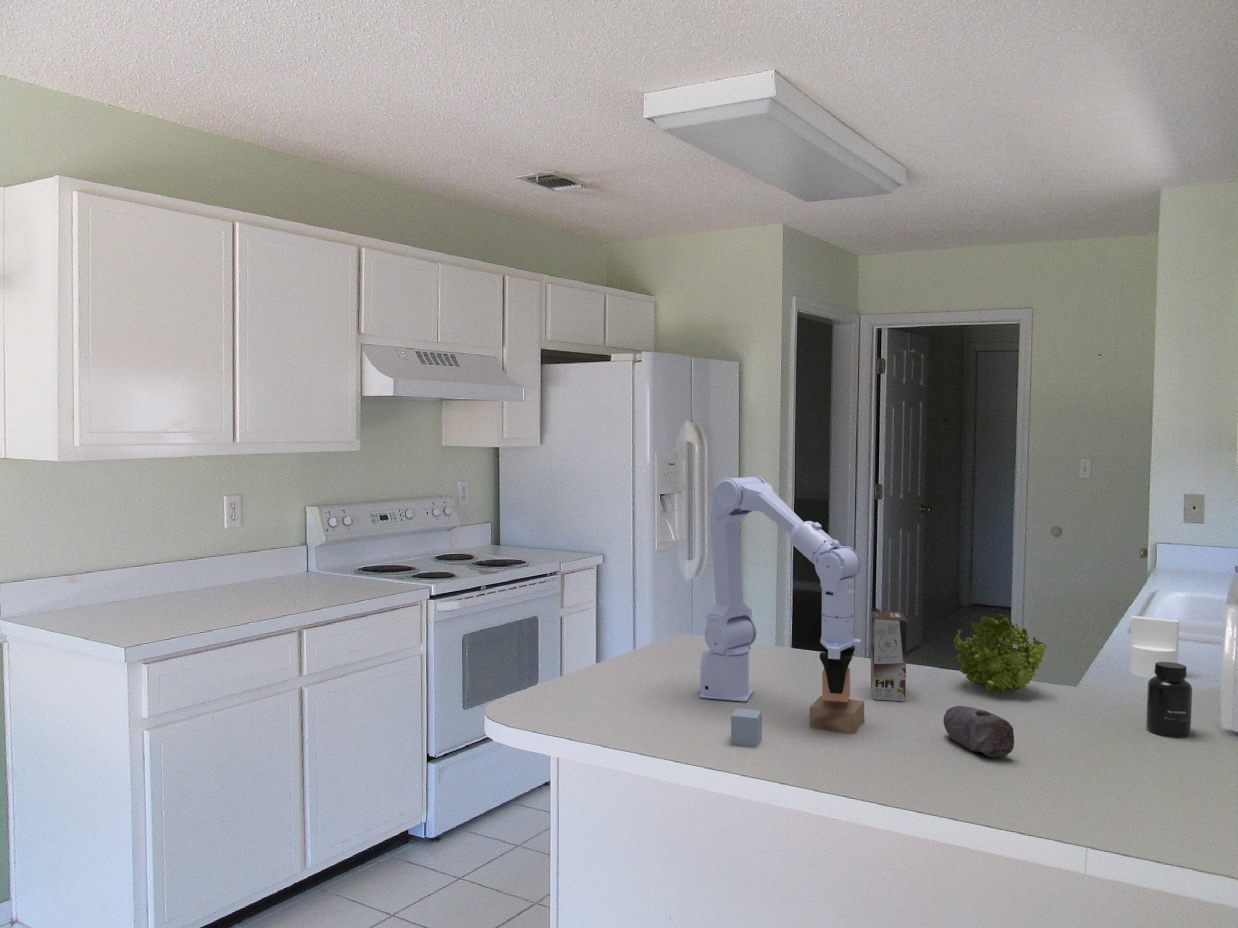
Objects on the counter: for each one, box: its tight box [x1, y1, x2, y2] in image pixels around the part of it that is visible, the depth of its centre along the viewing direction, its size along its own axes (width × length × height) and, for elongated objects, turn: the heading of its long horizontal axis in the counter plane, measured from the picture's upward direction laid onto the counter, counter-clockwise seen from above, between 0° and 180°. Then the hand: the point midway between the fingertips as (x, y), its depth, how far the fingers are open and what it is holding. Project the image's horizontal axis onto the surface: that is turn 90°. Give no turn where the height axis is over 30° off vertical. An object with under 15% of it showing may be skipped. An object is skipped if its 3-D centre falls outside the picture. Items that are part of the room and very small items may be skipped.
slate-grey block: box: [730, 707, 763, 748], centre depth 164 cm, size 4×4×5 cm
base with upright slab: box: [1129, 615, 1180, 679], centre depth 206 cm, size 9×9×12 cm
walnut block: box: [809, 695, 865, 735], centre depth 173 cm, size 8×8×4 cm
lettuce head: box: [953, 613, 1047, 694], centre depth 194 cm, size 18×16×16 cm
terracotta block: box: [821, 667, 851, 702], centre depth 173 cm, size 4×4×5 cm
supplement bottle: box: [1145, 662, 1193, 738], centre depth 168 cm, size 7×7×12 cm
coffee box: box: [870, 610, 908, 702], centre depth 191 cm, size 9×6×16 cm
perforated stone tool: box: [942, 705, 1015, 758], centre depth 160 cm, size 15×5×7 cm, turn 17°
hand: (837, 689), depth 173 cm, fingers closed on terracotta block, 4 cm apart
